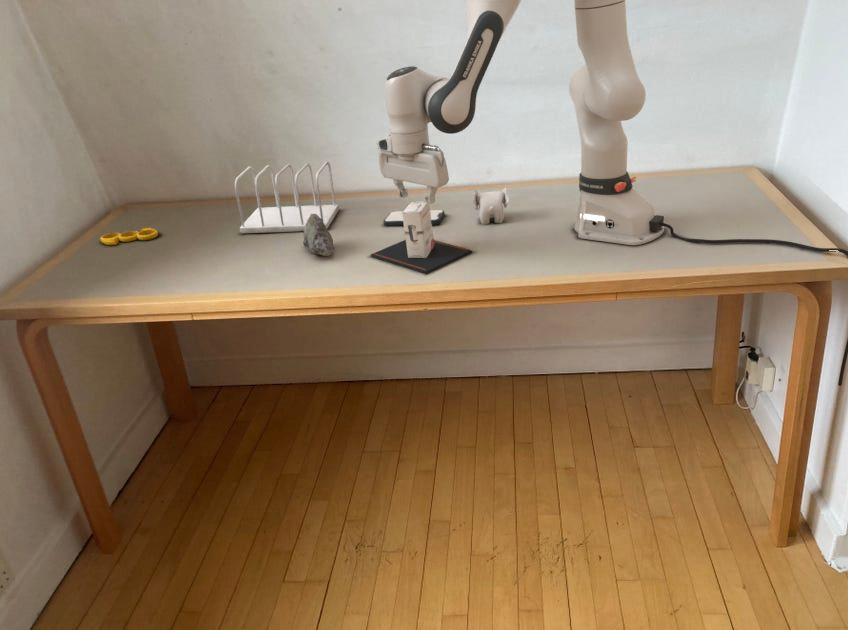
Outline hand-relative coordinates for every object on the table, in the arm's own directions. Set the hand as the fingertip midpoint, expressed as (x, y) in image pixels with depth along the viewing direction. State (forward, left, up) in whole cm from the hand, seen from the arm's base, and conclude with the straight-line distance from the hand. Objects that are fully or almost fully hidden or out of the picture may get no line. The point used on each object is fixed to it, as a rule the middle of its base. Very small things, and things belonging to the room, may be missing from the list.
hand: (416, 199), depth 186 cm
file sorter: (+51, +3, -14) cm, 53 cm away
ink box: (0, 0, -14) cm, 14 cm away
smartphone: (+20, -17, -14) cm, 30 cm away
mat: (0, 0, -14) cm, 14 cm away
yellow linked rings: (+82, +38, -14) cm, 92 cm away
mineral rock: (+24, +14, -14) cm, 31 cm away
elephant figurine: (+2, -29, -14) cm, 32 cm away
